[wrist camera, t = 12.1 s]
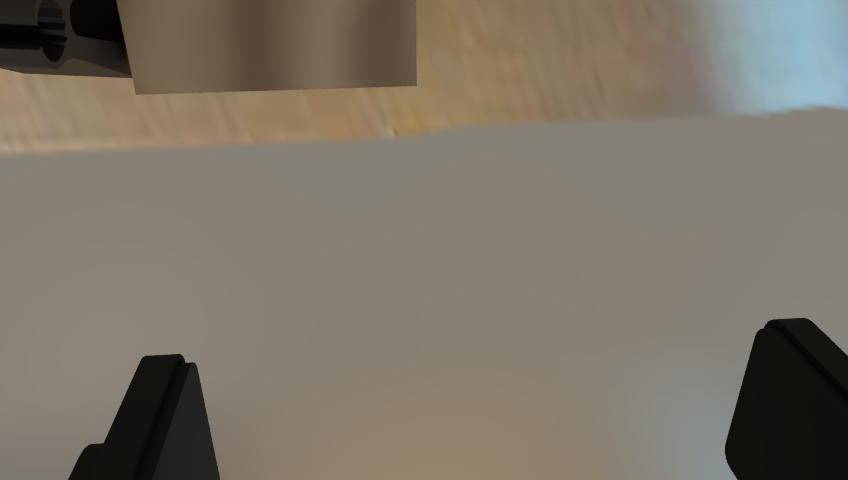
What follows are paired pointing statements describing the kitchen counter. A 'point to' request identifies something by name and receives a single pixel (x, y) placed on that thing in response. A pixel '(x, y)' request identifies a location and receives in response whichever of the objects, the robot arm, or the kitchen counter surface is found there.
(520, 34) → the kitchen counter surface
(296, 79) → the trolley
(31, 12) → the phone stand
